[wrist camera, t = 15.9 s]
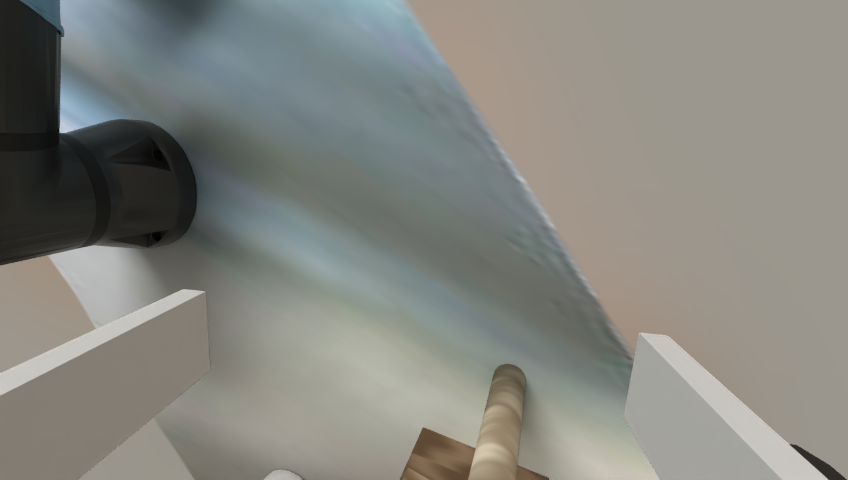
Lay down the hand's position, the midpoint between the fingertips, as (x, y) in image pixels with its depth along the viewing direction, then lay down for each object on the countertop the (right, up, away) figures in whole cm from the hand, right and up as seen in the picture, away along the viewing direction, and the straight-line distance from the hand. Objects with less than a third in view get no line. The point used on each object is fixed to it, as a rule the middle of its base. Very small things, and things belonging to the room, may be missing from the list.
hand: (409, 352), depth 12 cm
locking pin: (+9, -11, +28) cm, 32 cm away
